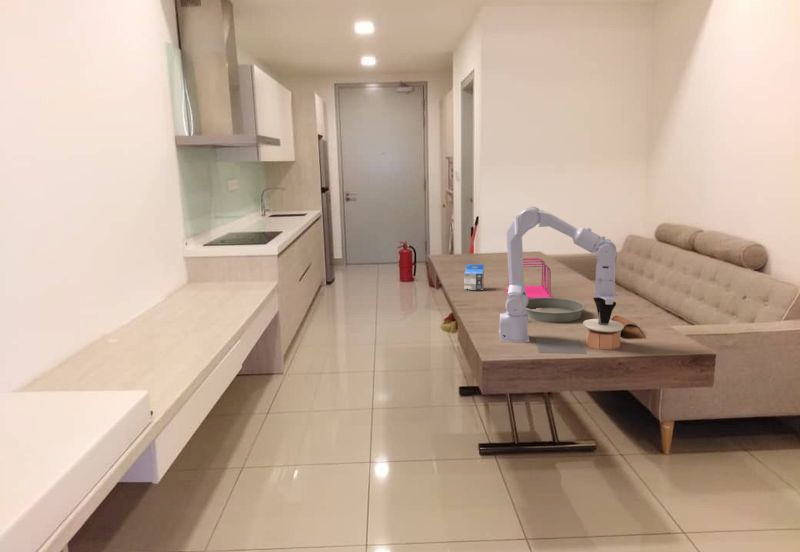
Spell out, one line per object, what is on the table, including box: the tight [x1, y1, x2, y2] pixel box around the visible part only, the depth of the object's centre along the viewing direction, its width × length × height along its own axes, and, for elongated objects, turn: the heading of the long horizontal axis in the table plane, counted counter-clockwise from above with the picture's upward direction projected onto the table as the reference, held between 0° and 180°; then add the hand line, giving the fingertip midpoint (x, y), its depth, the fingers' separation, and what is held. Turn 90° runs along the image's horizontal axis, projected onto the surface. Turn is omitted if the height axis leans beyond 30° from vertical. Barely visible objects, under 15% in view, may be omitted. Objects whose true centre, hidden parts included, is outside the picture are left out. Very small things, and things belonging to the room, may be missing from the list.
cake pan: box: [525, 296, 587, 323], centre depth 215 cm, size 25×25×4 cm
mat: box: [534, 338, 587, 355], centre depth 176 cm, size 14×14×1 cm
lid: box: [582, 312, 624, 332], centre depth 175 cm, size 12×12×4 cm
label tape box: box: [463, 263, 485, 291], centre depth 263 cm, size 9×4×12 cm, turn 71°
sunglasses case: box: [611, 315, 646, 340], centre depth 191 cm, size 18×7×7 cm
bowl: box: [585, 328, 621, 350], centre depth 176 cm, size 10×10×5 cm
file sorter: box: [506, 257, 553, 299], centre depth 249 cm, size 17×25×16 cm
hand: (603, 321), depth 175 cm, fingers closed on lid, 3 cm apart
